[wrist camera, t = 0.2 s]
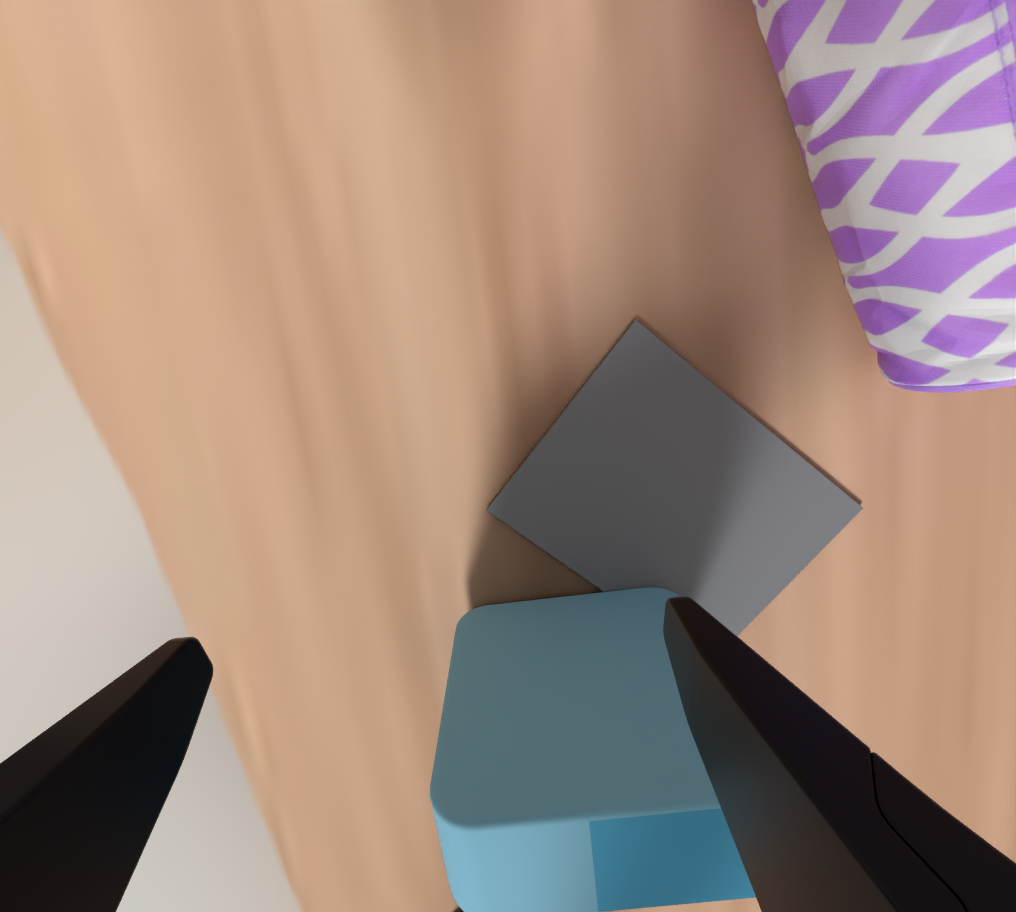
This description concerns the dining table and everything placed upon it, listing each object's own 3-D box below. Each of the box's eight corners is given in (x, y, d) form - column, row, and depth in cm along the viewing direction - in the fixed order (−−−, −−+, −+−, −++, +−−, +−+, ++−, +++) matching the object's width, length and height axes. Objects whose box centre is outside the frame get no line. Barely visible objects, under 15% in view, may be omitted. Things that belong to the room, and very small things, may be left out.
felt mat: (707, 662, 27) (709, 664, 27) (486, 509, 25) (486, 510, 24) (860, 506, 25) (863, 508, 25) (634, 319, 22) (635, 319, 22)
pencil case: (660, -71, 19) (814, -455, 10) (880, -218, 18) (1282, -799, 9) (843, 404, 24) (1059, 446, 15) (1023, 309, 23) (1374, 292, 14)
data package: (470, 673, 27) (444, 930, 16) (458, 606, 26) (420, 830, 14) (676, 651, 27) (806, 897, 15) (674, 581, 26) (813, 792, 14)
